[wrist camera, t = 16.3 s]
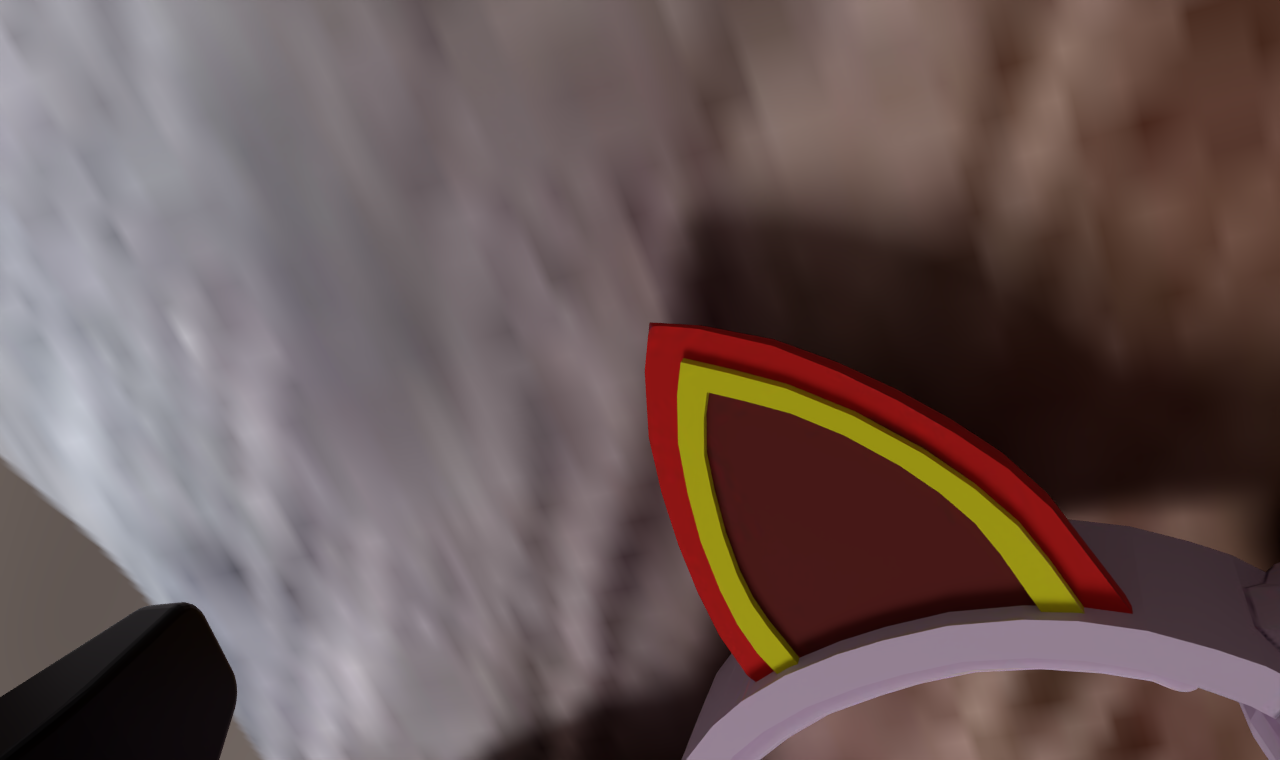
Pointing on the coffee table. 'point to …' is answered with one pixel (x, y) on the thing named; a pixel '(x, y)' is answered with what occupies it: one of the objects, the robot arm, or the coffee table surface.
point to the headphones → (910, 553)
